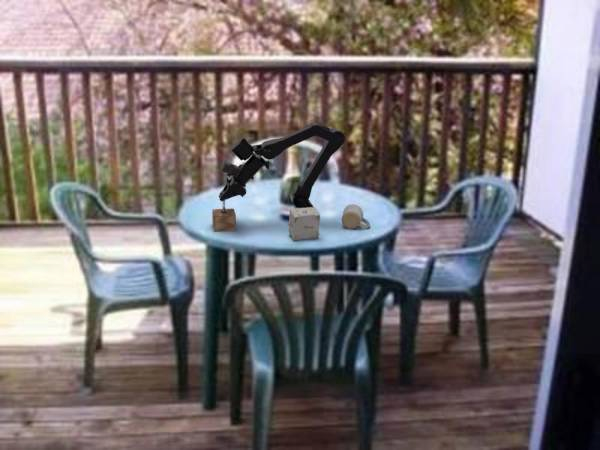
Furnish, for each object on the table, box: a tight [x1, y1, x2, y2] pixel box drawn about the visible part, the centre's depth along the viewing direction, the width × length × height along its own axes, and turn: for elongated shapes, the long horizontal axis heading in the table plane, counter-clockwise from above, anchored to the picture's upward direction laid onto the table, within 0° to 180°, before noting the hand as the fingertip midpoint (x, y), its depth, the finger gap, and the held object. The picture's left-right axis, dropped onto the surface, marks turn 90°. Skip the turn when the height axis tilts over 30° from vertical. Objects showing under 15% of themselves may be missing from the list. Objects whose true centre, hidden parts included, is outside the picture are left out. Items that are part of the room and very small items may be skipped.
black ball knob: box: [218, 190, 226, 213], centre depth 275 cm, size 6×6×9 cm
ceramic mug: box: [341, 204, 371, 230], centre depth 281 cm, size 11×8×8 cm
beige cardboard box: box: [288, 206, 321, 242], centre depth 268 cm, size 10×8×10 cm
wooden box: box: [211, 208, 237, 232], centre depth 277 cm, size 8×8×6 cm
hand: (219, 199), depth 275 cm, fingers closed on black ball knob, 3 cm apart
